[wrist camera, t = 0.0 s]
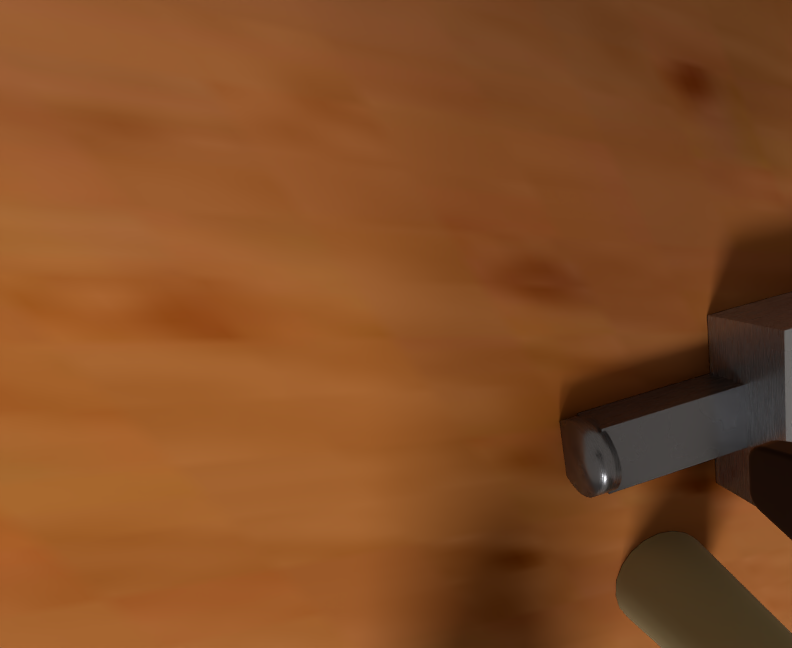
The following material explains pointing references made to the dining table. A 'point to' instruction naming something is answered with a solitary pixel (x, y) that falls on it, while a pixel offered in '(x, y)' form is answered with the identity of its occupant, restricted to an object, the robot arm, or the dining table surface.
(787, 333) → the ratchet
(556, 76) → the dining table surface
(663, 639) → the cork
